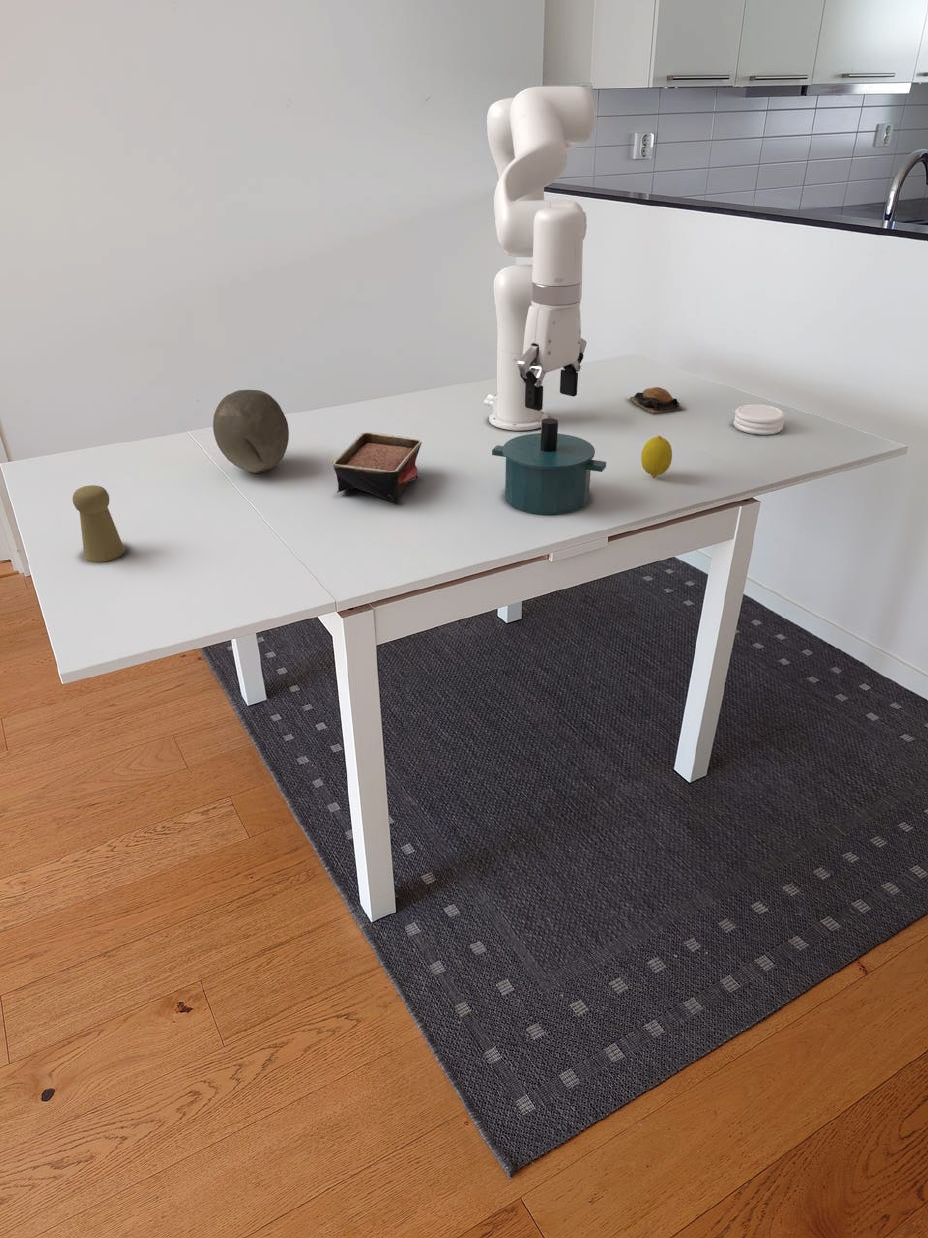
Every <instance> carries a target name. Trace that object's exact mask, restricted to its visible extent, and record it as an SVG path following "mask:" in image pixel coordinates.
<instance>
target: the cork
mask: <svg viewBox="0 0 928 1238" xmlns="http://www.w3.org/2000/svg"><path fill="white" fill-rule="evenodd" d="M72 503H73V507H75V509H76V510H77V511H78V512H79V519H80V529H81V538H82V539H81V540H82V547H83V548H82V549H83V556H84V559H85V560H87V561H88V562H93V563H104V562H108V561H112V560H115V559H117V558H119V557H121V556H123V554H124V553H125V549H126V548H125V547H124V544H123V542H122V540H121V537H120V535H119V531H118V529H117V527H116V525H115V522H114V519H113V517H112V514H111V512H110V510H109V505H110V494H109V493H108V491H107V489H106V488H104V486H100V485H97V484H95V485H93V484H92V485H85V486H82V487H79V488H78V489H76V490H75V491H74V492H73V494H72Z"/></svg>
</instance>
